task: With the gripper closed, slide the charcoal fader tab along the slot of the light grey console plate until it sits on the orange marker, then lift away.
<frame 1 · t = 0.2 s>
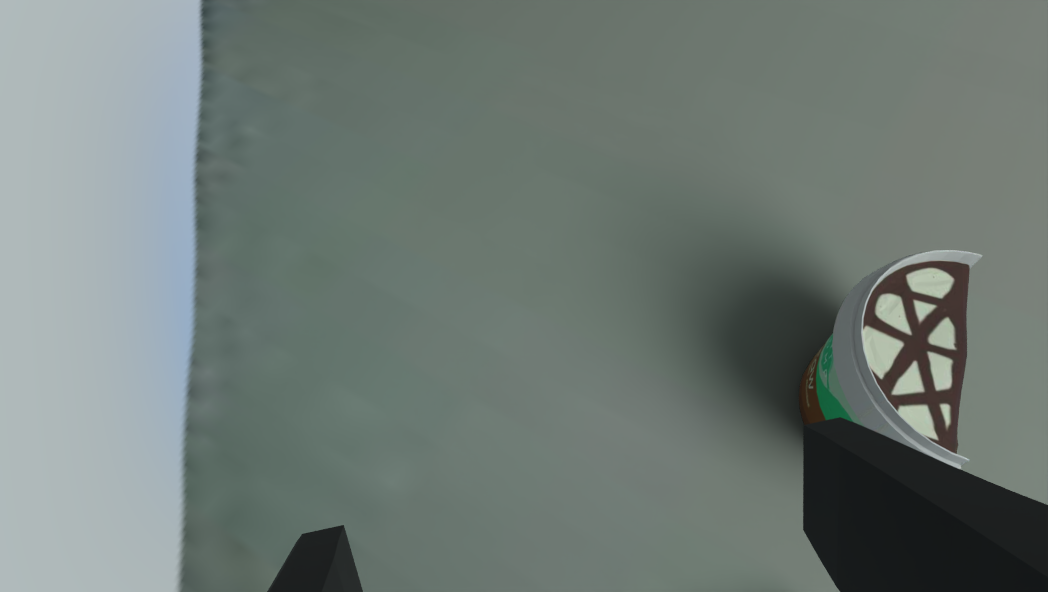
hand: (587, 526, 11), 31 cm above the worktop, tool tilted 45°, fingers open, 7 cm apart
food container: (828, 396, 46), on the worktop
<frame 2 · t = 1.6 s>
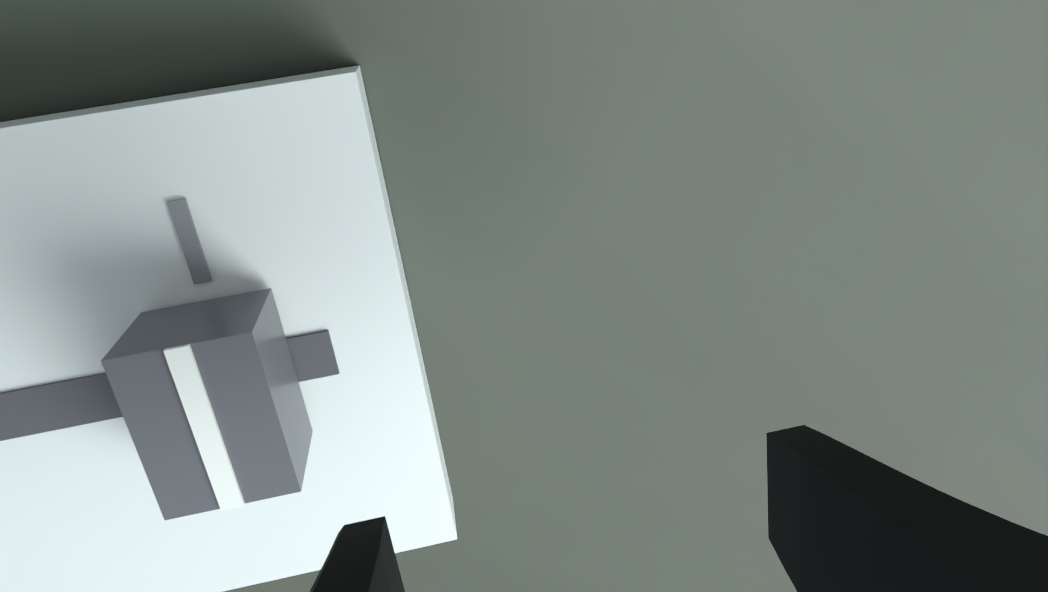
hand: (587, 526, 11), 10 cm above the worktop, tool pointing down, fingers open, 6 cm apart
fader tab: (219, 401, 17), point 4 cm above the worktop, slide at -7.0 cm
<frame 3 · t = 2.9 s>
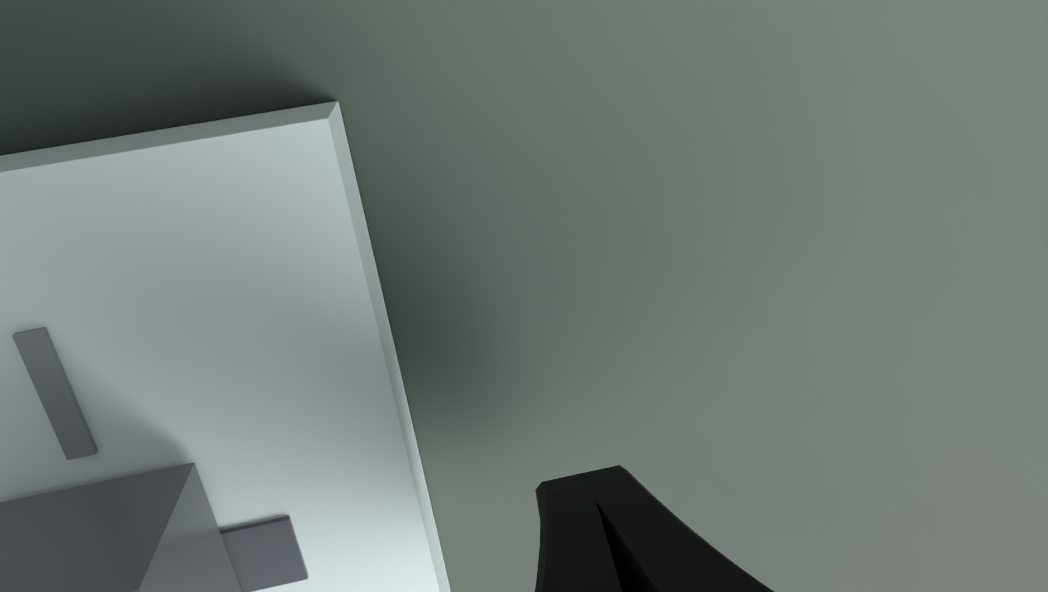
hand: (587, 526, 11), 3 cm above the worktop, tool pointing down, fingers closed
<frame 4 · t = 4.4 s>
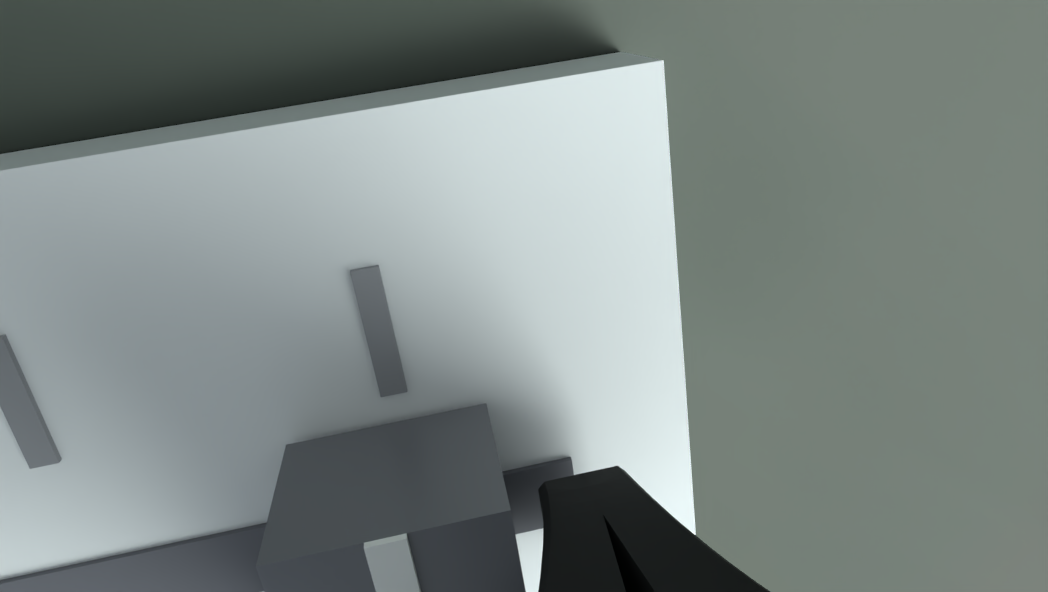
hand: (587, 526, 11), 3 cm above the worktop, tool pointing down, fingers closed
fader console: (30, 534, 13), on the worktop
fader tab: (416, 591, 11), point 4 cm above the worktop, slide at -6.8 cm, touching gripper
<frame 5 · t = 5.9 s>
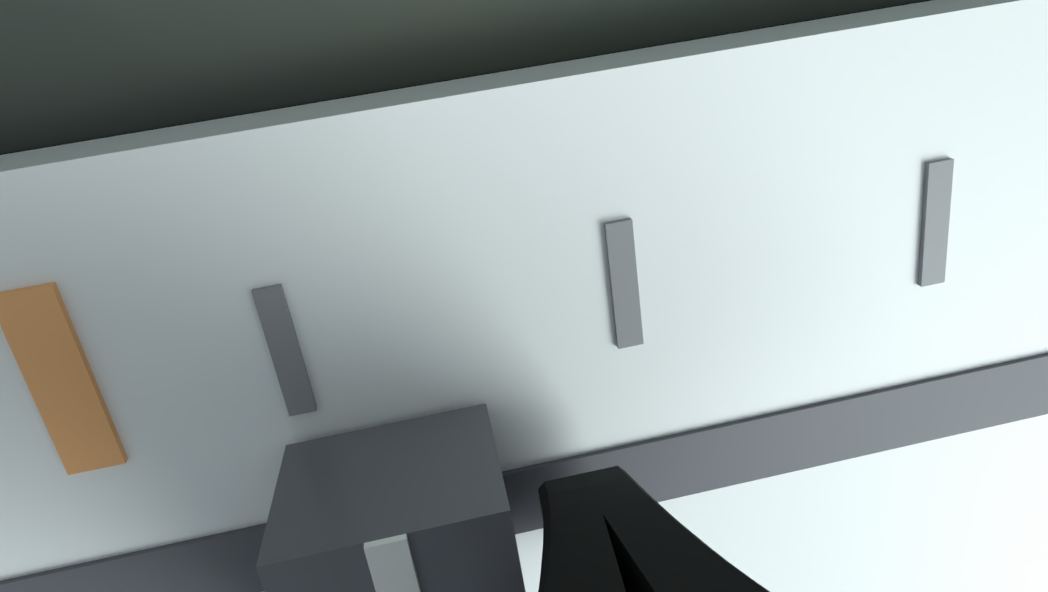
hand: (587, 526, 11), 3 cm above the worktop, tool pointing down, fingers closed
fader console: (507, 433, 14), on the worktop
fader tab: (415, 591, 11), point 4 cm above the worktop, slide at 1.9 cm, touching gripper
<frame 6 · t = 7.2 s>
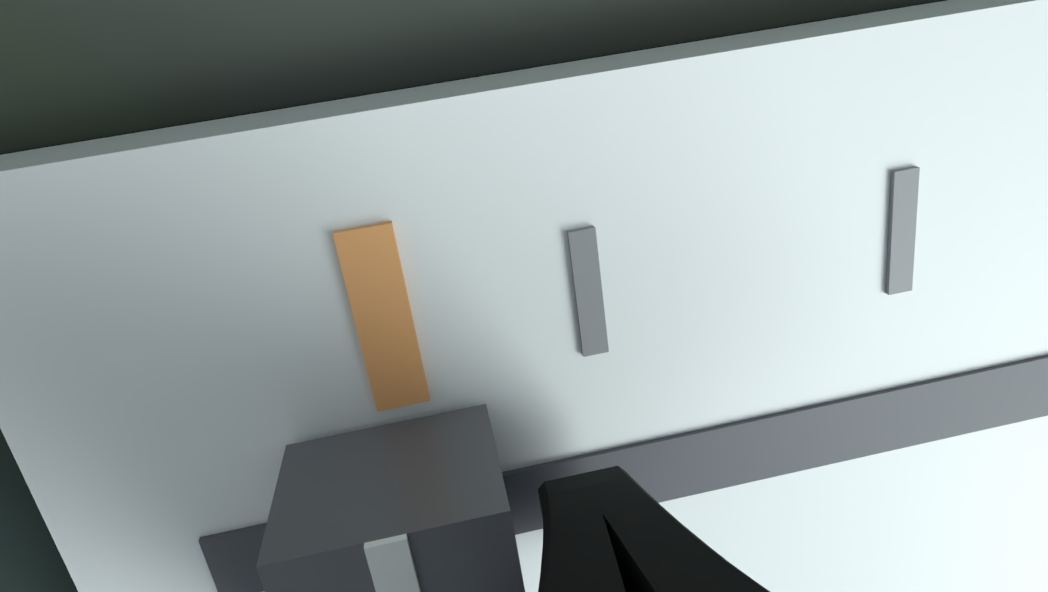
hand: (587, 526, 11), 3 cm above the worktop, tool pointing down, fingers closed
fader console: (731, 387, 15), on the worktop
fader tab: (415, 591, 11), point 4 cm above the worktop, slide at 6.3 cm, touching gripper
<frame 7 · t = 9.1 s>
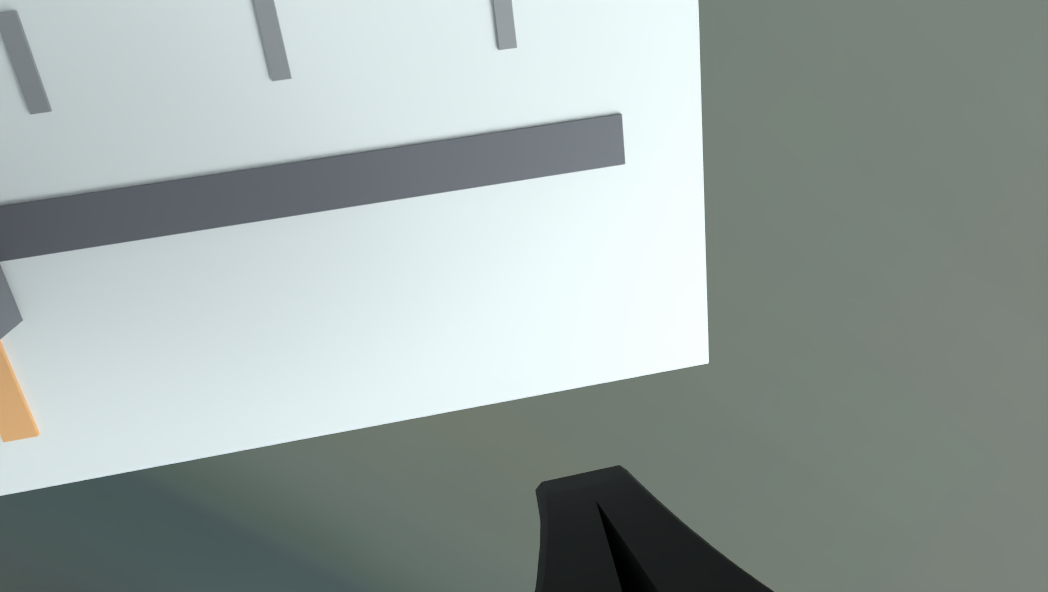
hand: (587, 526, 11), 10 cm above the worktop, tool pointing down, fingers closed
fader console: (235, 181, 19), on the worktop
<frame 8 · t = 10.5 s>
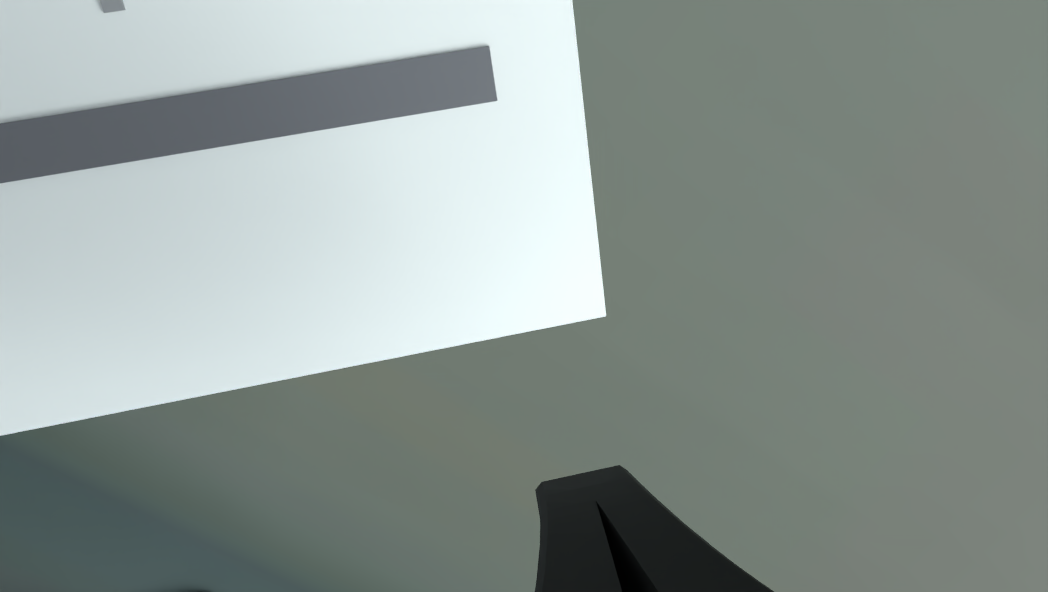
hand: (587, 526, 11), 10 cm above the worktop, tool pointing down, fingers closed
fader console: (92, 129, 18), on the worktop
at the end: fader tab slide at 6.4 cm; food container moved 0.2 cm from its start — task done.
